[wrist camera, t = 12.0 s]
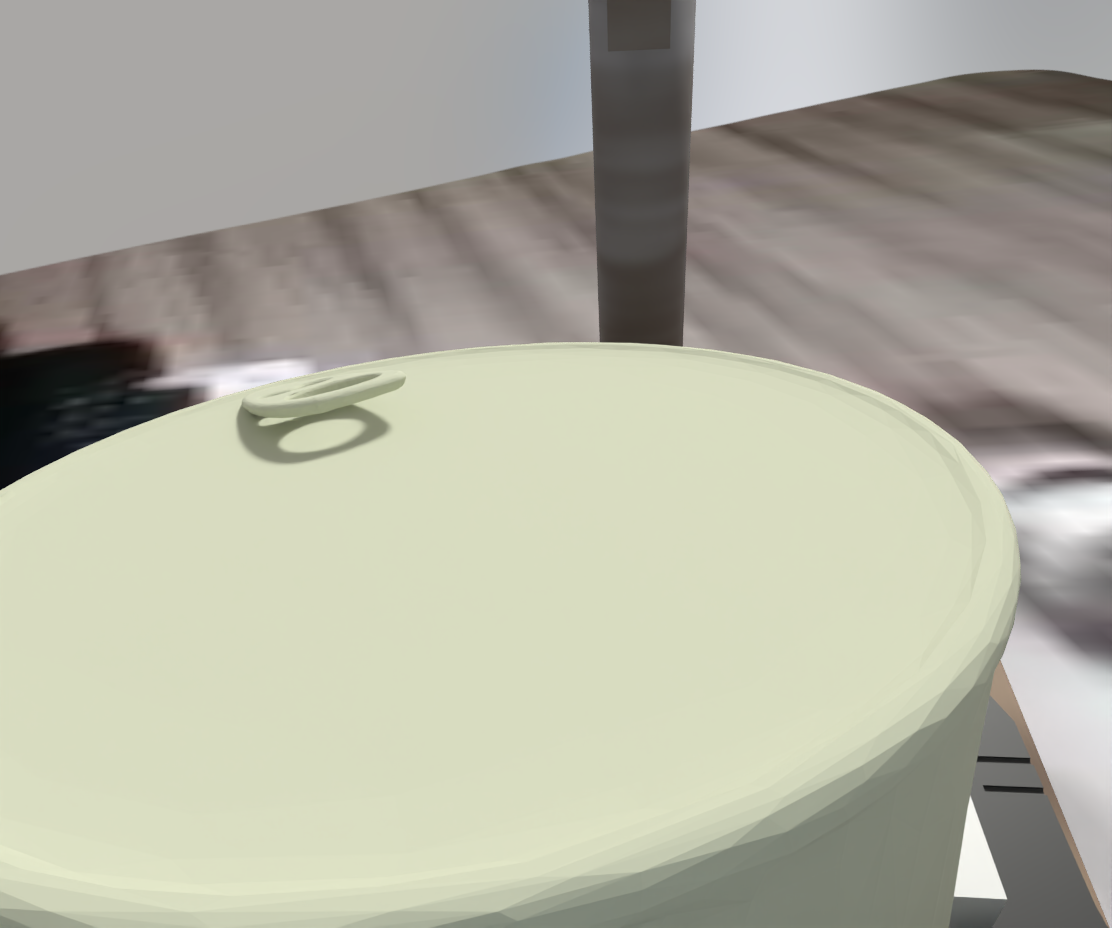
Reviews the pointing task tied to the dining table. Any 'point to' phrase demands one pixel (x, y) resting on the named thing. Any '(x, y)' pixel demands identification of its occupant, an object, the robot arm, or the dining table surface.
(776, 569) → the can
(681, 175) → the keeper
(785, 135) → the dining table surface
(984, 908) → the robot arm
